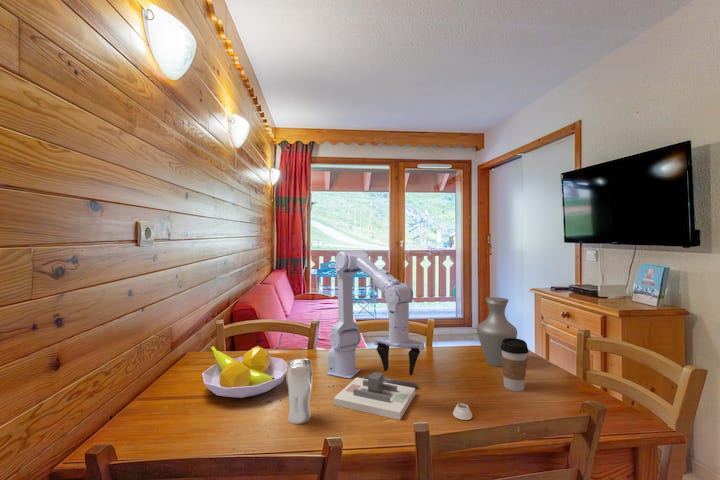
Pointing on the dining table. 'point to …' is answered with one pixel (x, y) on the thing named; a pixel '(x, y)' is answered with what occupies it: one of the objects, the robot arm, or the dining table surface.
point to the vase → (495, 330)
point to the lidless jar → (462, 412)
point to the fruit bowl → (244, 373)
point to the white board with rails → (377, 397)
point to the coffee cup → (514, 363)
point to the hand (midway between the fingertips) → (398, 371)
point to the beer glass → (299, 389)
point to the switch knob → (375, 383)
